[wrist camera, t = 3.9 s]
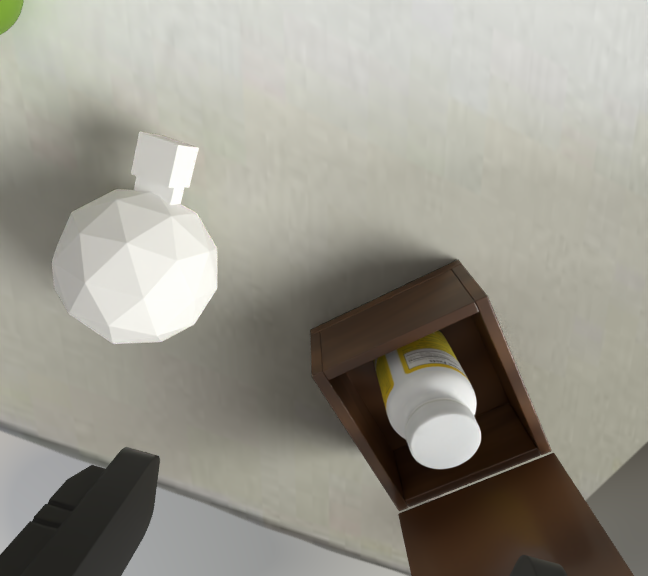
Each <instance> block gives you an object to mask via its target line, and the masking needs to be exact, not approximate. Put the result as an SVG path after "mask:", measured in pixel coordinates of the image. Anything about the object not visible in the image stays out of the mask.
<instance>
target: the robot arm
mask: <svg viewBox="0 0 648 576" xmlns="http://www.w3.org/2000/svg"><path fill="white" fill-rule="evenodd" d="M159 464H160V458H159V456H157V455H153V454H150V453H146V452H142V451H139V450H135V449H132V448H128V447H125V448H123V449H122V450H121V451H120V452H119V453H118V455H117V456H116V457H115V458H114V460H113V461H112V462H111V463H110V464H109V466H108V467H107V468H106V469H105V468H101V467H97V466H94V465H91V466H89V467H88V468H86V469H84V470H82V471H81V472H79V473H78V474H76V475H74V476H72V477H71V478H69V479H68V480H66V482H65V483H64V484H63V485H62V486H61V487H60V488H59V489H58V491H57V492H56V493H55V494H54V495H53V496H52V497H51V498H50V500H49V502H48V504H45V505H44V506H43V507H42V509H41V510H40V511H39V512H38V513H37V514H36V515H35V516H34V519H33V521H32V522H31V521H30V522H29V523H28V524H27V525H26V527H25V528H24V529H23V530H22V531H21V532H20V533H19V534H18V536H17V537H16V538H15V539H14V540H13V541H12V542H11V543H10V545H9V546H8V547H7V548H6V549H5V550H4V551H3V552H2V554H1V555H0V576H121V575H122V573H123V571H124V570H125V568H126V566H127V565H128V563H129V561H130V560H131V558H132V556H133V554H134V553H135V551H136V549H137V548H138V546H139V544H140V542H141V541H142V539H143V537H144V535H145V533H146V531H147V528H148V526H149V523H150V520H151V517H152V514H153V510H154V503H155V495H156V487H157V480H158V472H159ZM510 576H567V574H566V572H565V570H564V568H563V567H562V566H561V565H559V564H556V563H553V562H549V561H545V560H542V559H538V558H535V557H531V556H527V555H522V556H520V557H519V558H518V560H517V562H516V564H515V566H514V568H513V570H512V572H511V574H510Z"/></svg>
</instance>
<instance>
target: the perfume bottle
mask: <svg viewBox="0 0 648 576" xmlns="http://www.w3.org/2000/svg"><path fill="white" fill-rule="evenodd" d="M198 149H199V148H197V147H194V146H192V145H189V144H186V143H183V142H180V141H177V140H174V139H172V138H169V137H166V136H163V135H157V134H152V133H146V132H141V131H139V135H138V140H137V145H136V150H135V155H134V160H133V165H132V170H131V174H132V175H135V176H136V181H135V186H134V190H127V189H115V190H113V191H111V192H109V193H107V194H105V195H104V196H102V197H100V198H98V199H96V200H94V201H92V202H90V203H88V204H86V205H84V206H82V207H80V208H78V209H76V210H75V211H73V212H71V214H70V217H69V219H68V221H67V224H66V226H65V228H64V231H63V233H62V235H61V238H60V240H59V242H58V244H57V247H56V250H55V253H54V256H53V259H52V271H53V281H54V289H55V291H56V292H57V294H58V296H59V298H60V299H61V301H62V303H63V305H64V306H65V308H66V310H67V312H68V313H69V314H70V315H71V316H73V317H74V318H76V319H77V320H79V321H80V322H81V323H83V324H84V325H86V326H87V327H89V328H90V329H92V330H93V331H95V332H96V333H98V334H99V335H101V336H102V337H104V338H105V339H106V340H108V341H109V342H111V343H112V344H123V343H147V342H162V341H164V340H166V339H168V338H170V337H172V336H174V335H175V334H177V333H179V332H181V331H183V330H185V329H187V328H188V327H190V326H192V325H194V324H195V322H196V321H197V319H198V318H199V316H200V315H201V313H202V312H203V310H204V309H205V307H206V305H207V304H208V302H209V301H210V299H211V298H212V296H213V295H214V293H215V292H216V290H217V247H216V245H215V244H214V242H213V240H212V238H211V237H210V235H209V233H208V231H207V230H206V228H205V226H204V225H203V223H202V221H201V219H200V218H199V216H198V214H197V213H196V212H194V211H192V210H191V209H189V208H187V207H185V206H183V205H181V200H182V196H183V191H184V188H185V187H190V182H191V178H192V174H193V170H194V166H195V161H196V157H197V153H198Z"/></svg>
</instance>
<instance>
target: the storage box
mask: <svg viewBox="0 0 648 576" xmlns="http://www.w3.org/2000/svg"><path fill="white" fill-rule="evenodd" d="M438 330H440V331H441V332H442V333H443V335H444V337H445V338H446V340H447V342H448V344H449V346H450V347H451V349H452V351H453V353H454V355H455V356H456V358H457V360H458V362H459V364H460V365H461V367H462V369H463V371H464V373H465V374H466V376H467V378H468V380H469V382H470V383H471V386H472V388H473V390H474V392H475V396H476V412H475V415H474V417H475V419H476V422H477V424H478V426H479V428H480V431H481V442H480V445H479V447H478V449H477V451H476V452H475V454H474V455H473V456H472V457H471V458H470V459H468V460H467V461H466V462H464V463H462V464H460V465H458V466H455V467H452V468H447V469H433V468H429V467H426V466H423V465H422V464H420V463H419V462H417V461H416V460H415V459H414V457H413V456H412V454H411V452H410V449H409V446H408V443H407V441H406V439H404V438H403V437H401V436H400V435H399V434H398V433H397V432H396V431H395V430H394V428H393V427H392V425H391V424H390V421H389V419H388V416H387V412H386V409H385V404H384V401H383V397H382V393H381V389H380V385H379V382H378V378H377V374H376V371H375V367H374V363H373V360H374V359H377V358H379V357H381V356H383V355H385V354H388V353H390V352H392V351H394V350H396V349H399V348H401V347H403V346H405V345H407V344H410V343H412V342H414V341H416V340H418V339H421V338H423V337H425V336H427V335H429V334H432V333H434V332H436V331H438ZM310 337H311V369H312V378H313V379H314V381H315V382H316V384H317V386H318V387H319V389H320V390H321V392H322V393H323V395H324V396H325V398H326V399H327V401H328V402H329V404H330V406H331V407H332V409H333V410H334V412H335V413H336V415H337V416H338V418H339V419H340V421H341V422H342V424H343V426H344V427H345V429H346V430H347V432H348V433H349V435H350V436H351V438H352V439H353V441H354V442H355V444H356V446H357V447H358V449H359V450H360V452H361V453H362V455H363V456H364V458H365V459H366V461H367V462H368V464H369V466H370V467H371V469H372V470H373V472H374V473H375V475H376V476H377V478H378V479H379V481H380V483H381V484H382V486H383V487H384V489H385V490H386V492H387V493H388V495H389V496H390V498H391V499H392V501H393V503H394V504H395V506H396V507H397V509H398V510H399V511H401V510H404V509H406V508H408V507H411V506H413V505H416V504H419V503H421V502H424V501H426V500H429V499H431V498H434V497H436V496H439V495H441V494H444V493H446V492H449V491H451V490H454V489H457V488H459V487H462V486H464V485H467V484H469V483H472V482H474V481H477V480H479V479H482V478H484V477H487V476H490V475H492V474H495V473H497V472H500V471H502V470H505V469H507V468H510V467H512V466H515V465H517V464H520V463H523V462H525V461H528V460H530V459H533V458H535V457H538V456H540V454H541V455H543V454H546V453H548V452H551V448H550V445H549V443H548V440H547V438H546V436H545V433H544V431H543V428H542V426H541V423H540V421H539V419H538V416H537V414H536V411H535V409H534V407H533V404H532V402H531V399H530V397H529V395H528V392H527V390H526V387H525V385H524V382H523V380H522V378H521V375H520V373H519V370H518V368H517V366H516V363H515V361H514V358H513V356H512V354H511V351H510V349H509V346H508V344H507V341H506V339H505V337H504V334H503V332H502V329H501V327H500V325H499V322H498V320H497V317H496V315H495V313H494V310H493V308H492V305H491V303H490V300H489V298H488V296H487V295H486V293H485V292H484V291H483V290H482V288H481V287H480V286H479V285H478V284H477V282H476V281H475V280H474V279H473V277H472V276H471V275H470V274H469V272H468V271H467V270H466V269H465V267H464V266H463V265H462V264H461V262H460V261H459V260H456V261H454V262H452V263H450V264H448V265H446V266H444V267H442V268H439V269H437V270H435V271H433V272H431V273H429V274H427V275H425V276H423V277H421V278H418V279H416V280H414V281H412V282H410V283H408V284H406V285H404V286H402V287H400V288H397V289H395V290H393V291H391V292H389V293H387V294H385V295H383V296H381V297H379V298H376V299H374V300H372V301H370V302H368V303H366V304H364V305H362V306H360V307H358V308H355V309H353V310H351V311H349V312H347V313H345V314H343V315H341V316H339V317H337V318H335V319H332V320H330V321H328V322H326V323H324V324H322V325H320V326H318V327H316V328H314V329H311V330H310Z"/></svg>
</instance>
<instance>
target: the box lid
mask: <svg viewBox="0 0 648 576" xmlns="http://www.w3.org/2000/svg"><path fill="white" fill-rule="evenodd" d="M398 515H399V519H400V524H401V529H402V533H403V538H404V543H405V547H406V552H407V557H408V561H409V566H410V571H411V575H412V576H510V574H511V572H512V570H513V568H514V566H515V564H516V562H517V560H518V558H519V557H520V556H522V555H527V556H531V557H535V558H538V559H542V560H545V561H549V562H553V563H556V564H559V565H561V566H562V567H563V568H564V570H565V572H566V574H567V576H634V575H633V573H632V572H631V571H630V569H629V567H628V566H627V564H626V563H625V561H624V560H623V558H622V556H621V555H620V554H619V552H618V551H617V549H616V547H615V546H614V544H613V543H612V541H611V540H610V538H609V537H608V535H607V533H606V532H605V530H604V529H603V527H602V526H601V524H600V523H599V521H598V520H597V518H596V517H595V515H594V514H593V512H592V511H591V509H590V507H589V506H588V504H587V503H586V501H585V500H584V498H583V497H582V495H581V494H580V492H579V490H578V489H577V487H576V486H575V484H574V483H573V481H572V480H571V478H570V477H569V475H568V474H567V472H566V470H565V469H564V467H563V466H562V464H561V463H560V461H559V460H558V458H557V457H556V455H555V454H554V453H552V454H549V455H547V456H544V457H542V458H539V459H537V460H534V461H532V462H529V463H527V464H524V465H521V466H519V467H516V468H514V469H511V470H509V471H506V472H504V473H501V474H499V475H496V476H493V477H491V478H488V479H486V480H483V481H481V482H478V483H476V484H473V485H471V486H468V487H465V488H463V489H460V490H458V491H455V492H453V493H450V494H448V495H445V496H443V497H440V498H438V499H435V500H432V501H430V502H427V503H425V504H422V505H420V506H417V507H415V508H412V509H410V510H407V511H404V512H402V513H399V514H398Z"/></svg>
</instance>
